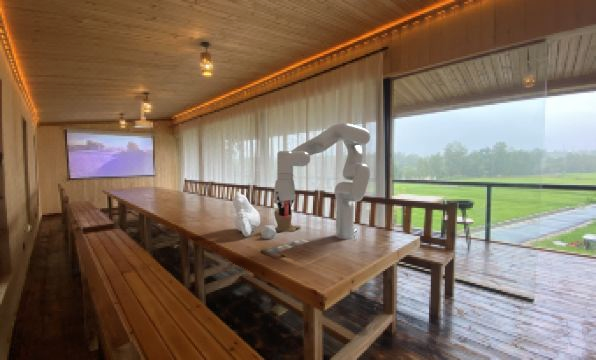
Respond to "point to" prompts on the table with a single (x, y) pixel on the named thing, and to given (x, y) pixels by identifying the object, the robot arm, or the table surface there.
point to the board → (274, 251)
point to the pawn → (286, 210)
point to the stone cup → (284, 223)
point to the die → (268, 232)
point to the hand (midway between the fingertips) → (285, 214)
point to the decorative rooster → (245, 215)
